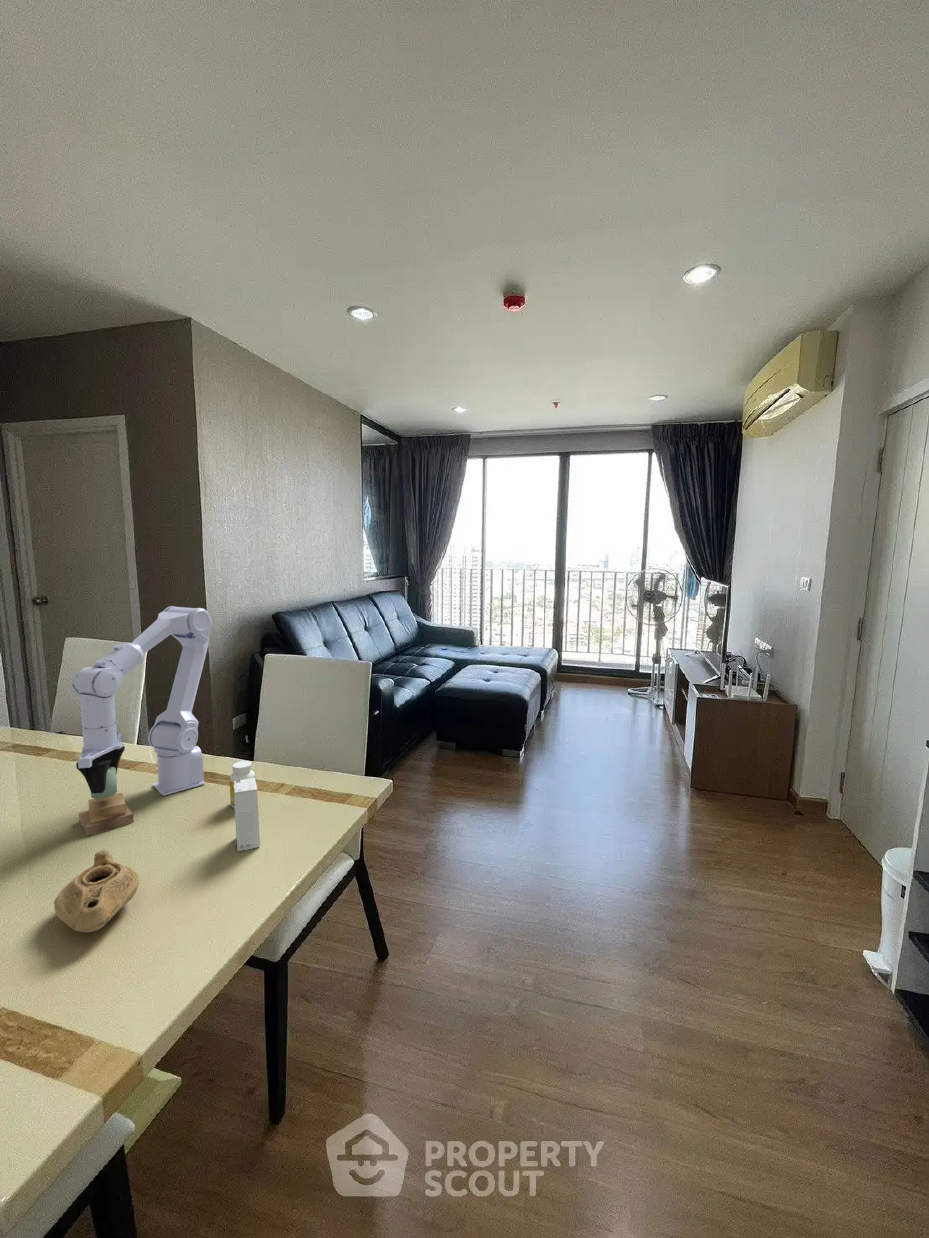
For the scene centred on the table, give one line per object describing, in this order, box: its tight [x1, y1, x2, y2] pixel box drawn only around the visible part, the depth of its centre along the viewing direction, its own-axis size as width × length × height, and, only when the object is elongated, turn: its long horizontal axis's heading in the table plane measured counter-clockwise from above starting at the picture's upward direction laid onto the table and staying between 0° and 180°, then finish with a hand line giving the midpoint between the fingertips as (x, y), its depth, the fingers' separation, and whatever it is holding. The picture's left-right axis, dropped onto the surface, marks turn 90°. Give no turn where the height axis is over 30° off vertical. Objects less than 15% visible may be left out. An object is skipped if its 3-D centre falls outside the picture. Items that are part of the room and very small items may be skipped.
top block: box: [87, 792, 126, 823], centre depth 108 cm, size 6×6×2 cm
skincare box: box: [233, 777, 261, 852], centre depth 101 cm, size 6×4×12 cm
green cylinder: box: [90, 767, 118, 799], centre depth 107 cm, size 4×4×5 cm
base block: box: [78, 803, 134, 837], centre depth 108 cm, size 8×8×2 cm
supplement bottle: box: [229, 760, 256, 809], centre depth 117 cm, size 5×5×10 cm
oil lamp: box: [53, 848, 140, 933], centre depth 80 cm, size 11×15×8 cm
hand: (103, 787), depth 107 cm, fingers closed on green cylinder, 4 cm apart
